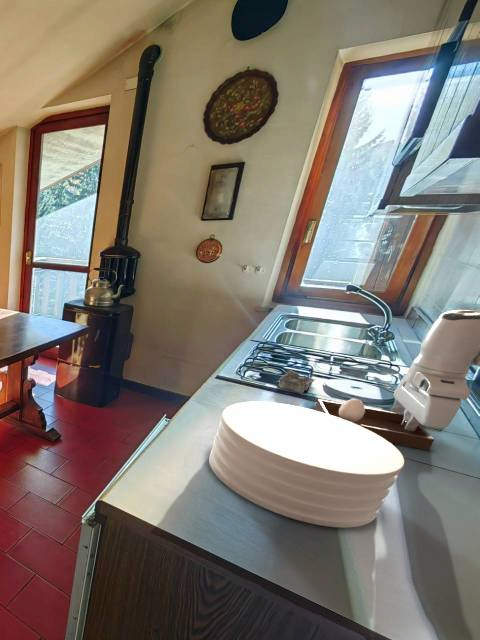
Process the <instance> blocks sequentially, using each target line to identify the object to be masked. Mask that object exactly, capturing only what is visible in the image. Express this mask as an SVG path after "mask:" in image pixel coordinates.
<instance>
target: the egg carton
mask: <svg viewBox="0 0 480 640" xmlns="http://www.w3.org/2000/svg"><path fill="white" fill-rule="evenodd" d="M278 381H279V383H278V385H277V387H279V388H281V389H284V390H285V389H286V390H291V391H293V392H296V393H304V392H305V391H307V390H308V389H310V388H311V387H312V384H313V382H315V381H316V378H312V377H306V375H303V377H301V376H300V375H299V372H297V371H294V369H289V370H288V371H287V372H286V373H284V374H283V375H282V376H280V378H279V379H278Z"/></svg>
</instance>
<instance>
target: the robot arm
mask: <svg viewBox="0 0 480 640" xmlns="http://www.w3.org/2000/svg"><path fill="white" fill-rule="evenodd" d="M471 366H475V367H478V368H480V310H474V309H473V310H472V309H471V310H468V309H457V310H450V311H446V312H444V313H442V314H440V316H439V317H437V318H436V320H434V322H433V323H432V325H431V326H430V327H429V329H428V331H427V332H426V334H425V337H424V338H423V340H422V342H421V344H420V351H419V354H418V355H417V356H416V357H414V359H413V361H412V363H411V365H410V367H409V368H408V371H407V373H406V374H404V376H403V377H401V380H400V381H399V383H398V384H397V386H396V388H395V390H394V392H393V398H394V399H395V401H396V400H397V401H398V402H399V403H400V404H401V405H402V406H403V407H404V408H405V411H404V418H403V421H402V423H401V425H402V426H403V427H404V428H405V429H406V430H409V431H415V430H416V428H417V426H418V425H420V426H422V427H426V428H429V429H430V428H431V429H436V430H445V428H447V427H449V426H450V424H451V423H452V421H453V419H454V418H455V416H456V415H457V413H458V411H459V410H460V409H461V405H462V400H463V401H466V400H468V399H469V397H470V395H471V390H470V388H469V386H468V383H467V378H466V377H467V375H468V373H469V371H470V367H471Z"/></svg>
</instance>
